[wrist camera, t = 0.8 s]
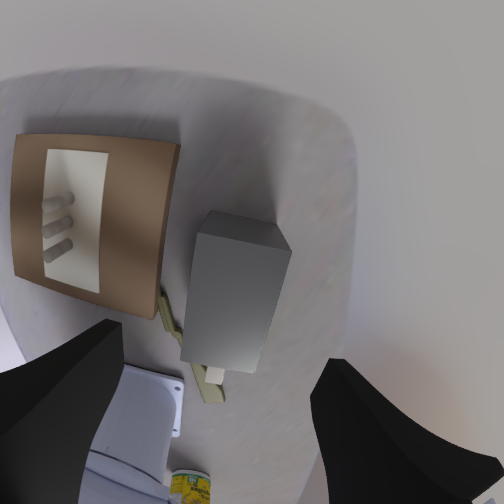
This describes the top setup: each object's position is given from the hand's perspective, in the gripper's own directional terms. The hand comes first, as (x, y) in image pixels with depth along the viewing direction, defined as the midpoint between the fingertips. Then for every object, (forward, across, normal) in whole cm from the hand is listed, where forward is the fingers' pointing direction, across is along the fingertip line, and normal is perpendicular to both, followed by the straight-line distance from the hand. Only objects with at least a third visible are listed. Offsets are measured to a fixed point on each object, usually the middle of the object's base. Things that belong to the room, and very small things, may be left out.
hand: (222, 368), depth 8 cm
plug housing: (+9, 0, 0) cm, 9 cm away
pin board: (+9, +11, -1) cm, 14 cm away
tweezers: (+10, +2, +7) cm, 12 cm away
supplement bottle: (+9, 0, +32) cm, 33 cm away
